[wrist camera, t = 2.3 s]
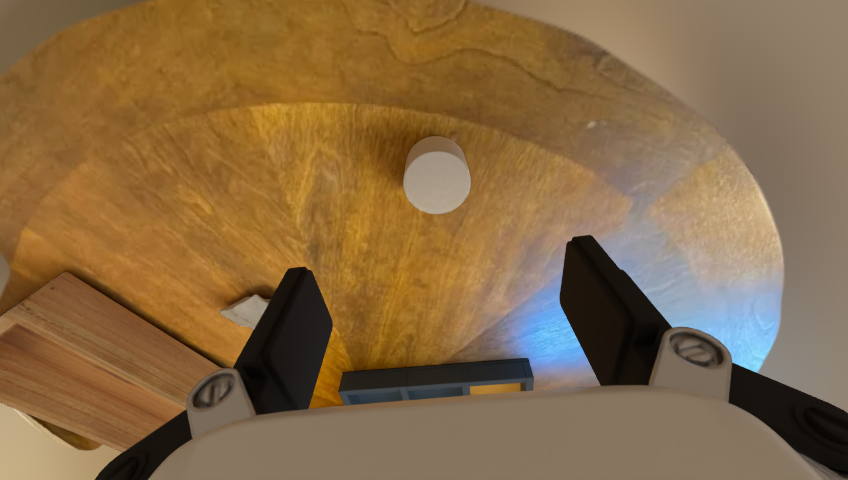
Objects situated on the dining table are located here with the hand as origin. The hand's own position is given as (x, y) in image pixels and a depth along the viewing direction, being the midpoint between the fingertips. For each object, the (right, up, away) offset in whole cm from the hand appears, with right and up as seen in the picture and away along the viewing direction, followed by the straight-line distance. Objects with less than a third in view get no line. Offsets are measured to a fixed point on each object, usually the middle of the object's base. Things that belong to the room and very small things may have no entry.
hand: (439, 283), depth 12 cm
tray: (-30, -15, +27) cm, 43 cm away
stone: (-16, -5, +20) cm, 26 cm away
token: (0, +7, +12) cm, 14 cm away
